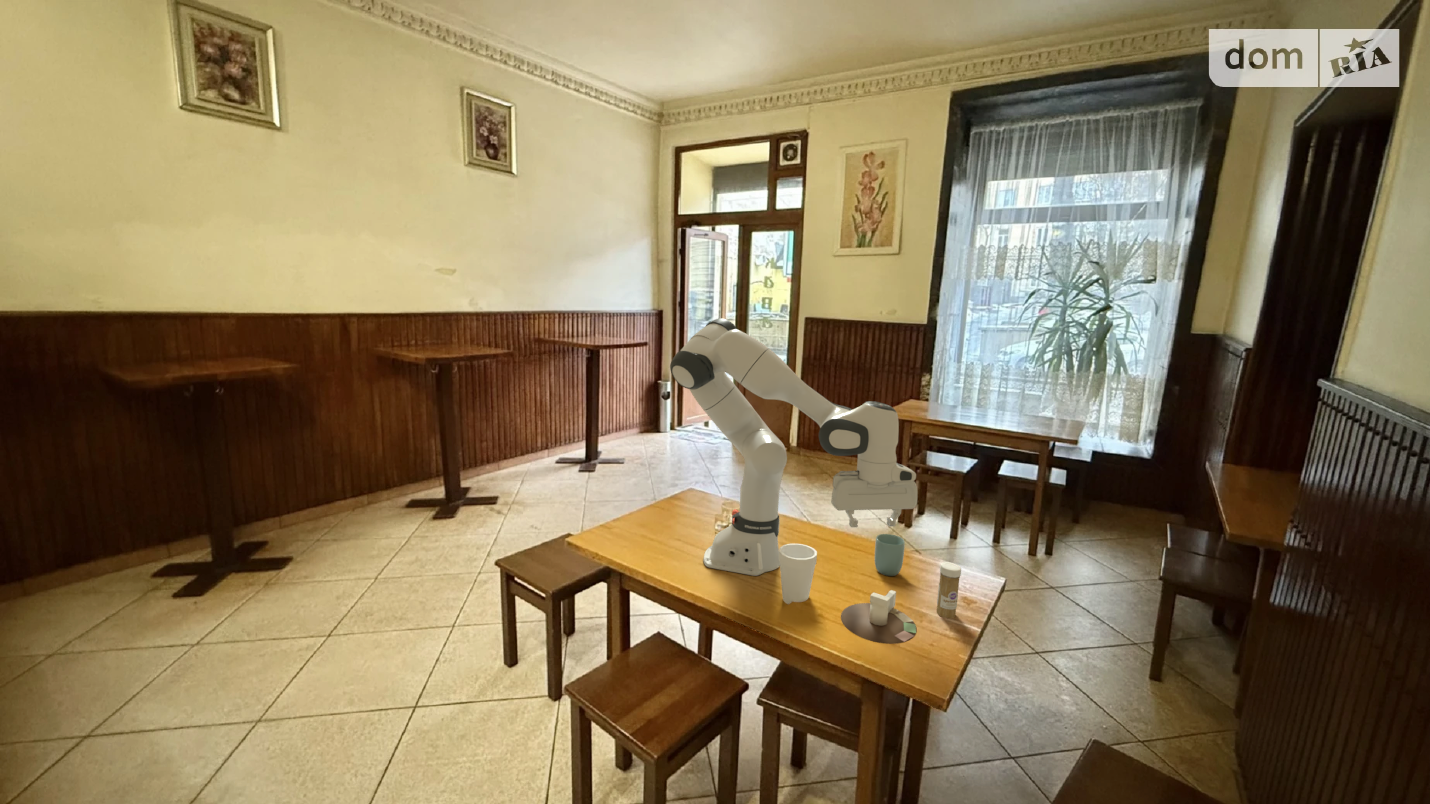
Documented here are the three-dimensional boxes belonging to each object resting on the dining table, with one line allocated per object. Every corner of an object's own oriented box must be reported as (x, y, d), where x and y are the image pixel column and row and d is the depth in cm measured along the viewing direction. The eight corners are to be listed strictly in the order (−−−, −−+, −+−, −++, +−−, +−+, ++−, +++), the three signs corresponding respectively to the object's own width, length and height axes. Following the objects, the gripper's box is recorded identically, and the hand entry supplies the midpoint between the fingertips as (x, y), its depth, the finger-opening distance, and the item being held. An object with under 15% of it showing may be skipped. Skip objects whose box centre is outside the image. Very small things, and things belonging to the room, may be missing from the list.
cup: (903, 580, 154) (906, 546, 152) (874, 577, 155) (877, 543, 154) (900, 568, 161) (903, 535, 160) (872, 565, 163) (874, 532, 161)
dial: (843, 644, 123) (844, 638, 123) (837, 604, 140) (837, 599, 140) (923, 652, 121) (924, 646, 121) (907, 611, 138) (908, 606, 138)
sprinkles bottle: (945, 624, 132) (951, 571, 130) (931, 615, 137) (936, 563, 134) (959, 620, 134) (965, 568, 132) (945, 611, 138) (950, 560, 136)
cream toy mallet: (883, 627, 128) (885, 602, 127) (866, 621, 130) (868, 597, 129) (900, 608, 136) (902, 584, 135) (884, 602, 139) (886, 579, 138)
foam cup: (813, 611, 137) (816, 561, 134) (775, 607, 138) (778, 557, 136) (813, 592, 146) (816, 545, 144) (778, 588, 147) (780, 541, 145)
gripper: (838, 475, 128) (834, 532, 130) (922, 473, 130) (918, 530, 133) (829, 467, 134) (826, 522, 136) (910, 466, 137) (906, 520, 139)
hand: (872, 526), depth 135 cm, fingers open, 8 cm apart
